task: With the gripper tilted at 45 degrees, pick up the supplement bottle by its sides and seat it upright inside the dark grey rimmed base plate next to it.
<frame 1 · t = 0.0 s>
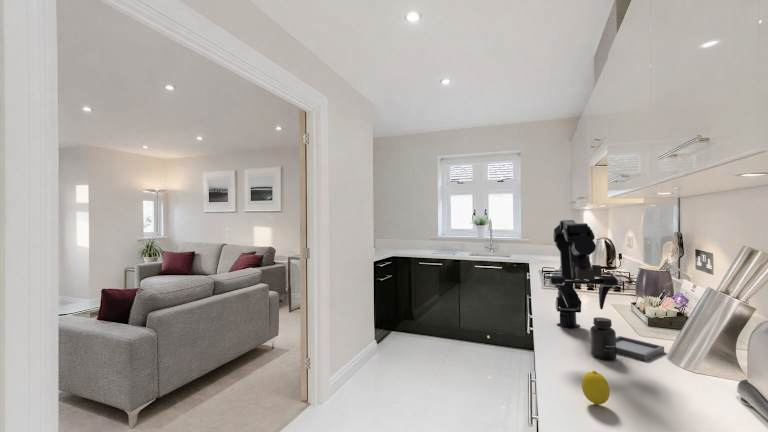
hand: (584, 308, 106), 15 cm above the countertop, tool pointing down, fingers open, 9 cm apart
lemon: (596, 406, 78), on the countertop
supplement bottle: (604, 357, 105), on the countertop
base plate: (631, 350, 110), on the countertop
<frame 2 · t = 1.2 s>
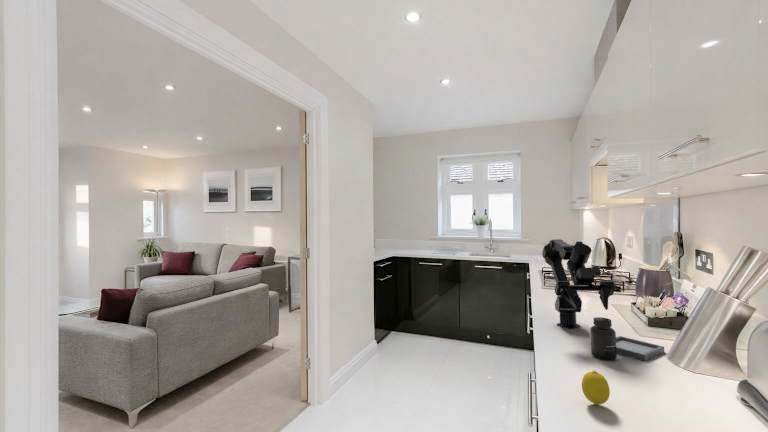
hand: (592, 309, 113), 13 cm above the countertop, tool tilted 45°, fingers open, 9 cm apart
nothing on the countertop moved.
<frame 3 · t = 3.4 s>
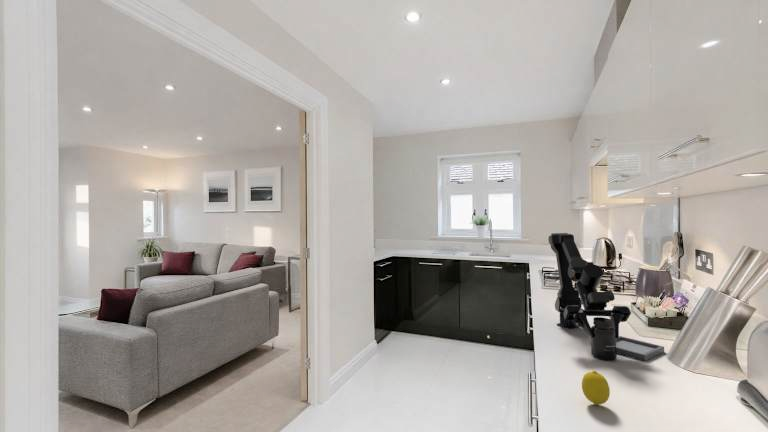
hand: (604, 337, 104), 7 cm above the countertop, tool tilted 45°, fingers closed on supplement bottle, 7 cm apart
supplement bottle: (604, 357, 105), on the countertop, touching gripper
everything else where it was.
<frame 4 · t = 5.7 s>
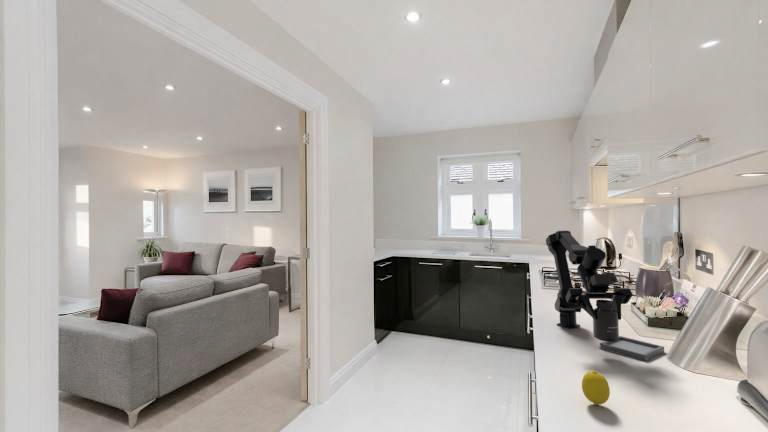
hand: (607, 319, 105), 12 cm above the countertop, tool tilted 45°, fingers closed on supplement bottle, 7 cm apart
supplement bottle: (606, 339, 106), point 5 cm above the countertop, touching gripper
everything else where it was.
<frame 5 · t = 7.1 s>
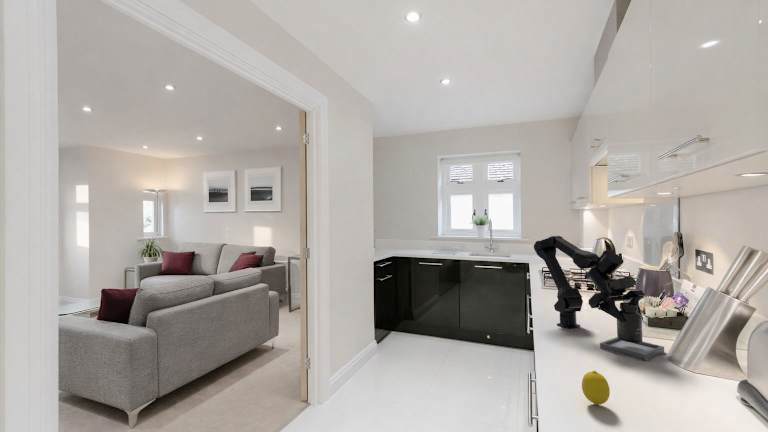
hand: (633, 320, 109), 10 cm above the countertop, tool tilted 45°, fingers closed on supplement bottle, 7 cm apart
supplement bottle: (629, 340, 110), point 3 cm above the countertop, touching gripper
everything else where it was.
when the fingers open (8 cm above the countertop, at t = 8.0 s): supplement bottle stays where it is, resting on base plate.
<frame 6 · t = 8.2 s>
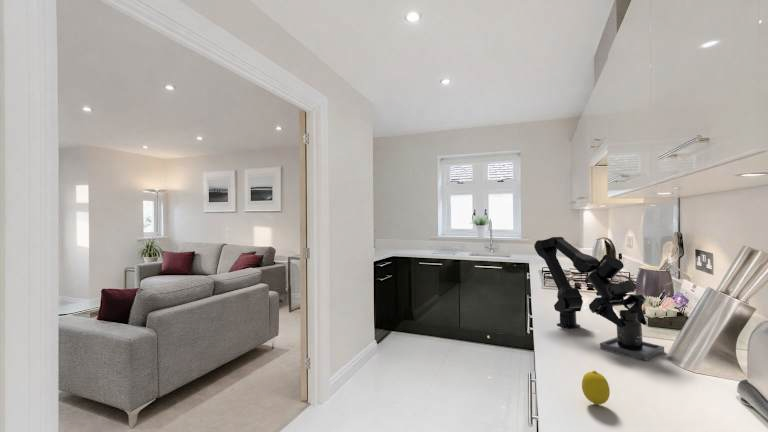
hand: (633, 325, 109), 9 cm above the countertop, tool tilted 45°, fingers open, 9 cm apart
supplement bottle: (630, 348, 110), point 1 cm above the countertop, touching base plate
everything else where it was.
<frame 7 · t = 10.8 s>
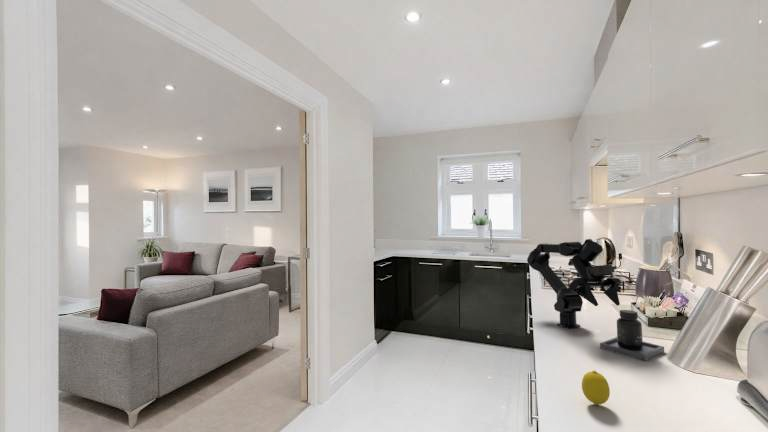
hand: (607, 305, 117), 13 cm above the countertop, tool tilted 40°, fingers open, 9 cm apart
nothing on the countertop moved.
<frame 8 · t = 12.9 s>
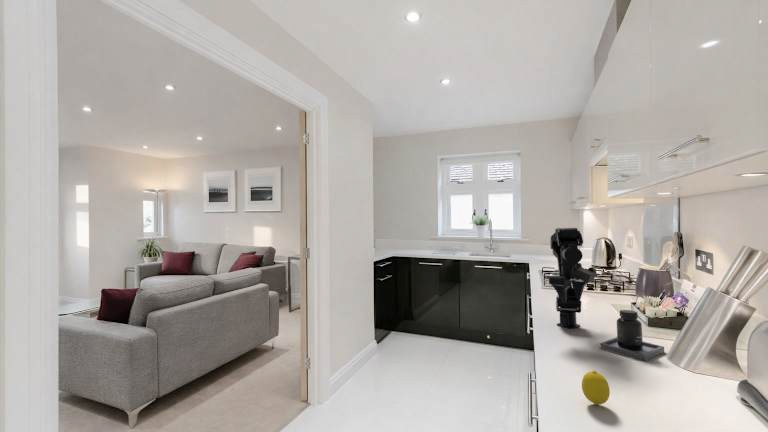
hand: (571, 301, 126), 13 cm above the countertop, tool pointing down, fingers open, 9 cm apart
nothing on the countertop moved.
at the end: supplement bottle inside the target area on the base plate (0.4 cm from its centre), point 0.6 cm above the base plate's base; supplement bottle tilted 0°; the gripper is holding nothing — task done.
